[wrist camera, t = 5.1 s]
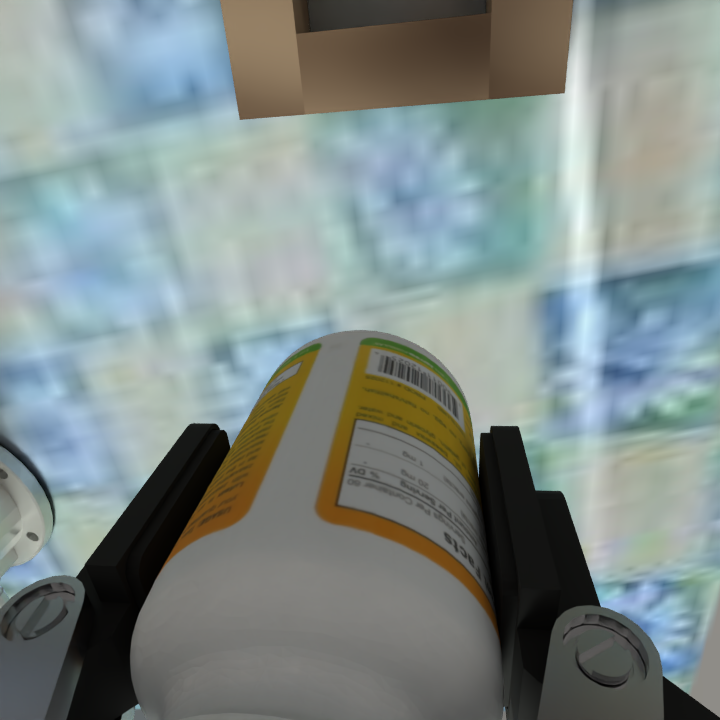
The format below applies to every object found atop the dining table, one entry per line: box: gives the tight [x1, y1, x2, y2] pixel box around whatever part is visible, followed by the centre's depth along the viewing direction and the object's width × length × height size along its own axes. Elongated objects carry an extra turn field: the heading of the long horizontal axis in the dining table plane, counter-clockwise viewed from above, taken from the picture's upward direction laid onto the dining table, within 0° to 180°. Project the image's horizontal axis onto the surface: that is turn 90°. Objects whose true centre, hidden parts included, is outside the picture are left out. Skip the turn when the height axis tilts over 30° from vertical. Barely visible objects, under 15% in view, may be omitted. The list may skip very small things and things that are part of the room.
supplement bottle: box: [130, 330, 504, 720], centre depth 9 cm, size 5×5×10 cm
